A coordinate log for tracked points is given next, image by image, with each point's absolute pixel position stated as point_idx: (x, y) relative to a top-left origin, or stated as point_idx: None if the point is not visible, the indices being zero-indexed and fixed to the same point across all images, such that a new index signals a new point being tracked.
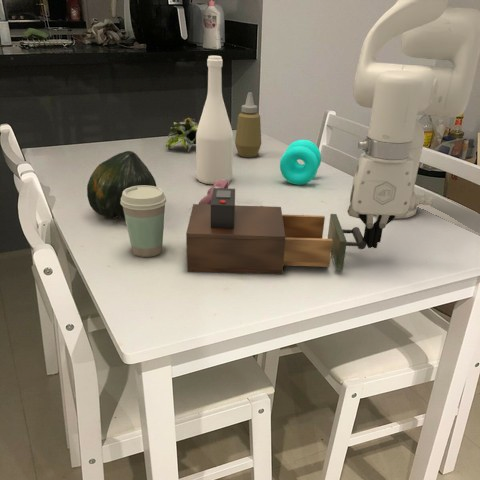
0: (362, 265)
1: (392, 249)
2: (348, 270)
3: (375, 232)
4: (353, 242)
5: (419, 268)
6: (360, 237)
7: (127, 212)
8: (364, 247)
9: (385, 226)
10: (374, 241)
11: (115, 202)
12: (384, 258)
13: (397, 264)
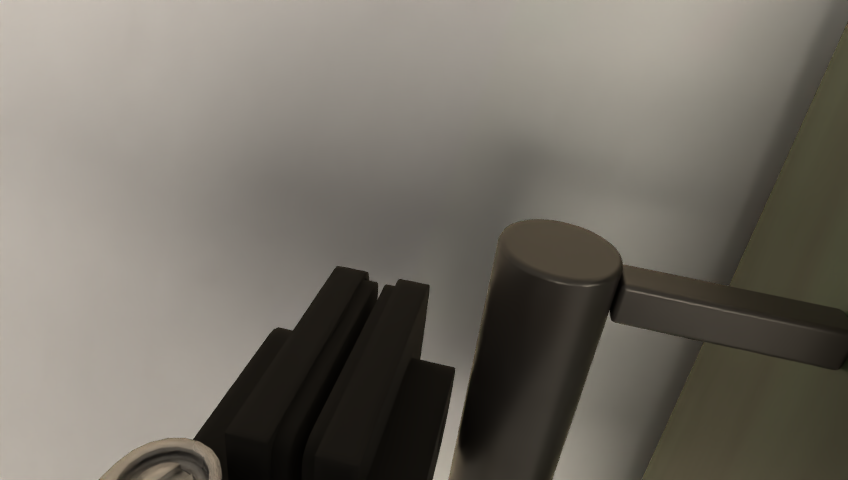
0: (504, 173)
1: (192, 371)
2: (696, 88)
3: (309, 416)
4: (671, 326)
5: (29, 59)
6: (532, 400)
7: None
8: (523, 225)
9: (120, 462)
10: (349, 321)
11: None
12: (277, 262)
13: (194, 151)
